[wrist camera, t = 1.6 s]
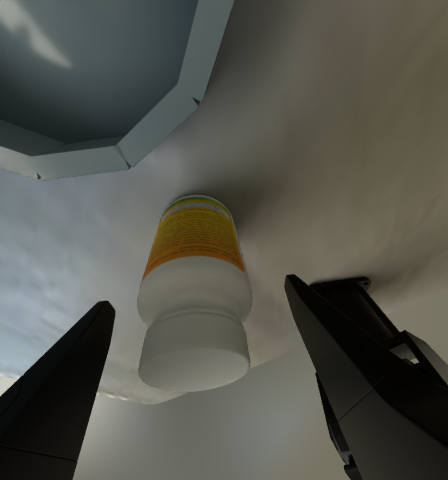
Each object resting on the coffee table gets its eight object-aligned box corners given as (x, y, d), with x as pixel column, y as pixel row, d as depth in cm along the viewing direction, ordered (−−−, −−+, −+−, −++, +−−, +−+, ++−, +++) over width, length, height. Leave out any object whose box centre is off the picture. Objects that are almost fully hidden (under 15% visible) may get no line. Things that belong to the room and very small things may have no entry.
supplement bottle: (145, 208, 13) (72, 365, 6) (219, 180, 13) (249, 315, 5) (181, 261, 17) (165, 407, 9) (241, 241, 16) (280, 380, 8)
